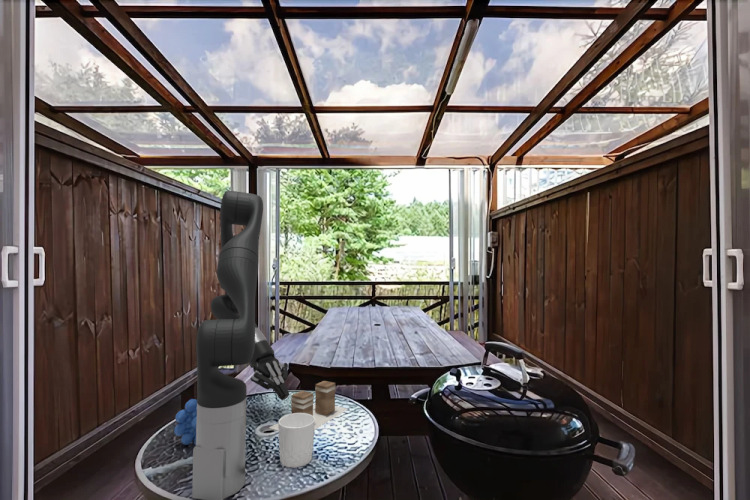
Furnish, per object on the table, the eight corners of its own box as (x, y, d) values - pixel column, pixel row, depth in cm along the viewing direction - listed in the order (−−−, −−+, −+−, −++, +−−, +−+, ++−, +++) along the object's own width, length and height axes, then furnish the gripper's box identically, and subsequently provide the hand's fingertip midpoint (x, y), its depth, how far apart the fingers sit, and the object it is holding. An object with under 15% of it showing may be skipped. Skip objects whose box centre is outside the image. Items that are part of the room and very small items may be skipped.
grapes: (228, 436, 96) (229, 389, 96) (219, 449, 89) (220, 398, 89) (181, 437, 95) (182, 390, 95) (169, 451, 88) (170, 399, 88)
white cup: (318, 457, 86) (318, 413, 86) (308, 477, 78) (309, 428, 78) (284, 455, 87) (285, 411, 87) (272, 474, 79) (273, 426, 79)
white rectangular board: (268, 433, 97) (268, 427, 97) (318, 406, 115) (319, 401, 115) (301, 444, 92) (301, 437, 92) (348, 414, 110) (348, 408, 110)
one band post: (314, 412, 107) (315, 384, 107) (323, 407, 110) (324, 380, 111) (326, 415, 105) (326, 387, 105) (335, 410, 108) (335, 382, 108)
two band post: (290, 425, 98) (291, 395, 98) (301, 420, 102) (301, 390, 102) (302, 429, 96) (303, 398, 96) (313, 423, 100) (313, 393, 100)
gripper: (243, 343, 101) (275, 397, 95) (278, 335, 113) (309, 383, 106) (230, 360, 104) (260, 414, 97) (265, 350, 115) (294, 398, 109)
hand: (285, 397), depth 102 cm, fingers closed
